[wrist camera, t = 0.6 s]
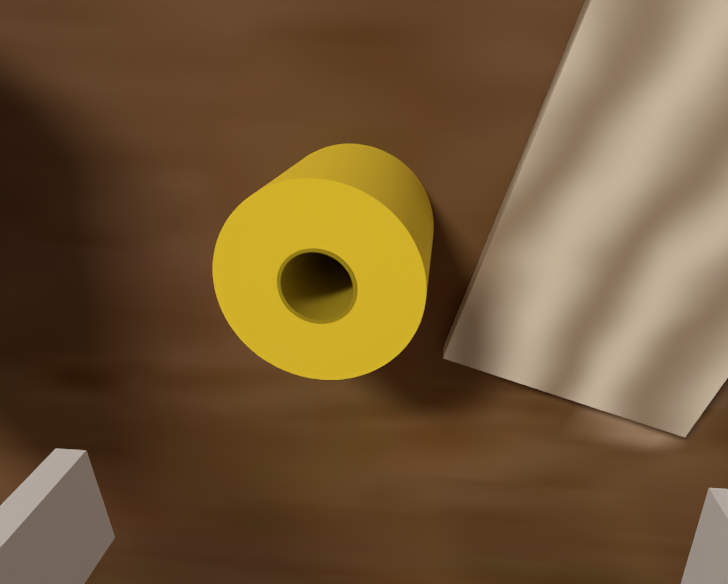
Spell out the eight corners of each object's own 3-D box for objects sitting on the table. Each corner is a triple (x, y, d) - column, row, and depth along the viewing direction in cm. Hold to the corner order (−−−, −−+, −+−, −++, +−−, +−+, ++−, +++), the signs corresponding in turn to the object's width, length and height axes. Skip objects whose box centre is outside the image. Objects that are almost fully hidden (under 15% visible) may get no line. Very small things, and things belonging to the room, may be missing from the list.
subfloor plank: (441, 346, 35) (441, 358, 34) (735, -373, 21) (756, -405, 19) (677, 423, 35) (687, 439, 33) (1148, -253, 20) (1201, -277, 19)
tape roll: (468, 213, 31) (473, 273, 23) (369, 327, 36) (343, 414, 27) (331, 107, 30) (283, 128, 22) (245, 238, 34) (177, 299, 26)
